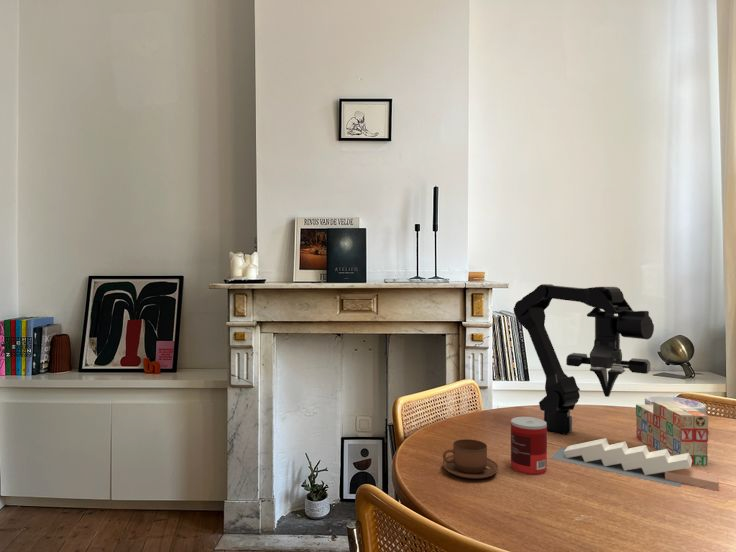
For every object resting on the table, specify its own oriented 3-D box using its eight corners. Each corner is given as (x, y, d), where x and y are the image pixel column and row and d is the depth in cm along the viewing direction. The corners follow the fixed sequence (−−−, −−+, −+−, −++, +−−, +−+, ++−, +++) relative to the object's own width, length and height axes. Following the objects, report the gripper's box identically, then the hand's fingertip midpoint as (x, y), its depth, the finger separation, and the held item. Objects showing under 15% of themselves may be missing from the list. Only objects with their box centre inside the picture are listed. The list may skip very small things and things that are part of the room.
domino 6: (665, 471, 102) (717, 482, 97) (667, 464, 106) (717, 475, 101) (665, 479, 102) (717, 490, 97) (667, 471, 106) (717, 482, 101)
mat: (549, 460, 114) (549, 458, 114) (561, 449, 122) (561, 446, 122) (680, 489, 99) (680, 487, 99) (684, 474, 107) (684, 471, 107)
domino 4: (621, 463, 107) (664, 455, 102) (625, 456, 111) (667, 448, 106) (624, 470, 107) (668, 462, 102) (628, 463, 111) (670, 456, 106)
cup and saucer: (465, 488, 99) (465, 457, 99) (431, 467, 110) (432, 440, 110) (509, 477, 105) (509, 448, 105) (473, 459, 115) (473, 433, 115)
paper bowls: (709, 427, 142) (709, 400, 142) (701, 439, 131) (701, 410, 131) (650, 417, 152) (650, 392, 152) (638, 428, 141) (638, 400, 141)
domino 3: (601, 459, 110) (642, 451, 105) (605, 453, 114) (645, 445, 109) (604, 466, 109) (646, 458, 105) (608, 459, 113) (649, 452, 109)
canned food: (546, 466, 111) (546, 418, 111) (547, 479, 103) (547, 428, 103) (511, 462, 113) (511, 414, 113) (509, 474, 106) (510, 424, 106)
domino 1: (563, 451, 115) (601, 443, 110) (569, 445, 119) (606, 438, 114) (566, 458, 114) (604, 450, 109) (571, 452, 118) (609, 444, 113)
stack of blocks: (635, 438, 132) (635, 392, 132) (659, 438, 132) (659, 393, 132) (680, 468, 111) (680, 414, 111) (708, 469, 110) (708, 414, 111)
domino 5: (641, 467, 105) (686, 459, 100) (644, 460, 109) (688, 452, 104) (644, 475, 105) (690, 467, 100) (648, 468, 109) (692, 460, 104)
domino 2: (581, 455, 112) (621, 447, 107) (586, 449, 116) (625, 441, 111) (584, 462, 112) (624, 454, 107) (589, 456, 116) (628, 448, 111)
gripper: (560, 335, 124) (560, 396, 123) (643, 341, 112) (643, 408, 112) (572, 332, 132) (572, 389, 132) (650, 337, 121) (650, 399, 121)
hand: (607, 396), depth 124 cm, fingers closed
